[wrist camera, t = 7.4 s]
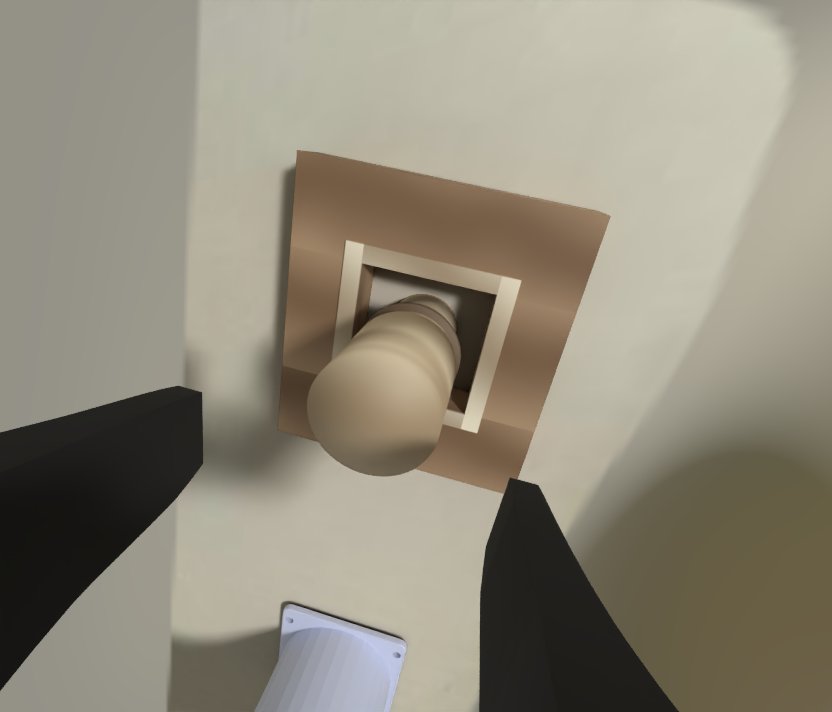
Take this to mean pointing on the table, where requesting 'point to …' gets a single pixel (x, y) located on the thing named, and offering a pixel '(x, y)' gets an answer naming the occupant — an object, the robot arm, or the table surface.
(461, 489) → the table surface
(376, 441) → the peg
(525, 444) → the board
